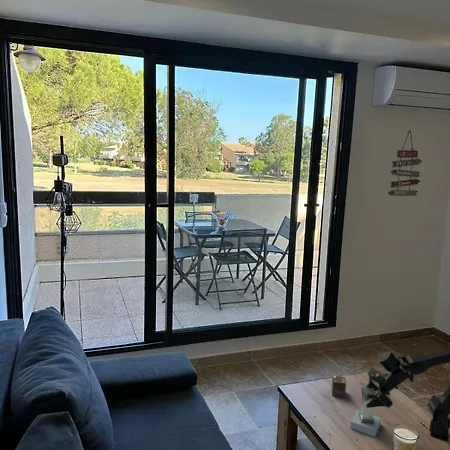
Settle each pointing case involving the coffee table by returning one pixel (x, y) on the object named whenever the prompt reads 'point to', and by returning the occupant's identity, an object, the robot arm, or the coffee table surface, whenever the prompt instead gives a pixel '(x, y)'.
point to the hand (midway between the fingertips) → (364, 400)
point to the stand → (365, 425)
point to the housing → (367, 396)
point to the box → (338, 386)
